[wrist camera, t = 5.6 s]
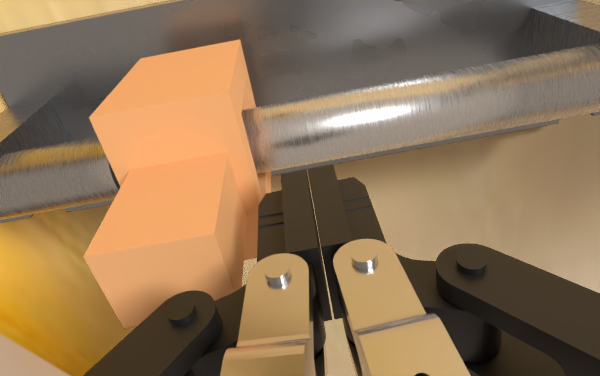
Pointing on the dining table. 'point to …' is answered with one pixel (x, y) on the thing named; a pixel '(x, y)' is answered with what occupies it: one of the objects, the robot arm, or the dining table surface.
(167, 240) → the collar
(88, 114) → the pipe stand
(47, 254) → the dining table surface
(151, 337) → the robot arm
